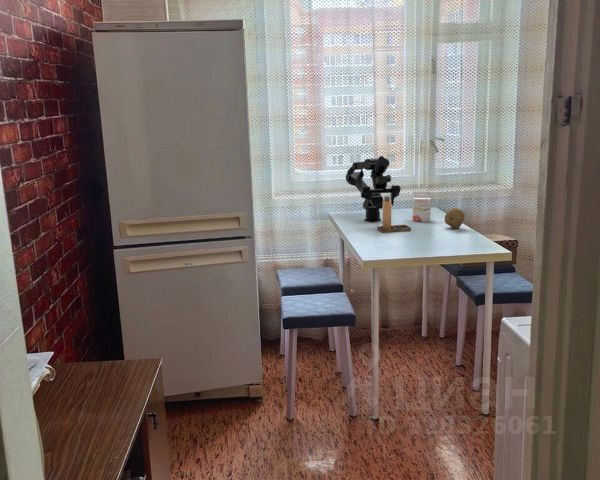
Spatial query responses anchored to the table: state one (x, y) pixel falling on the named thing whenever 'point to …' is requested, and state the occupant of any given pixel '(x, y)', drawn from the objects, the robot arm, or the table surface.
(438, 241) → the table surface
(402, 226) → the brown divided tray
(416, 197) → the ink cartridge box
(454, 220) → the natural sponge
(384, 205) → the tan rounded column
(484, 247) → the table surface
